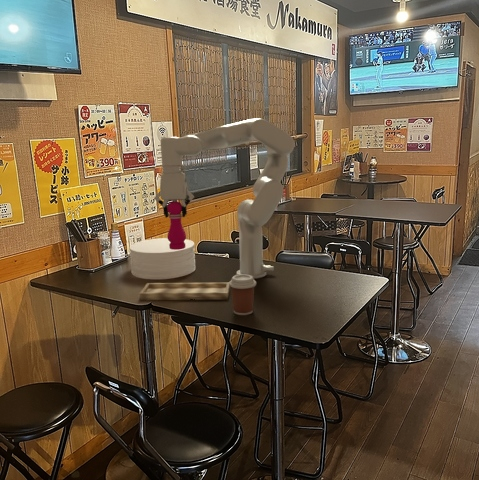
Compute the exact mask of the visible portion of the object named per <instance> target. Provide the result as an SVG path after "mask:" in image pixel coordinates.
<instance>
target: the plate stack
mask: <svg viewBox="0 0 479 480" xmlns="http://www.w3.org/2000/svg"><path fill="white" fill-rule="evenodd" d="M184 243H185V248H184V249H179V250H173V249H170V247H169V244H170V241H169V240H168V237H161V238H159V237H158V238H150V239H144V240H140V241H137V242H134V243H132V244H131V245H130V246H129V251H130V252H129V257H130V268H131V270H130V271H131V273H130V274H131V275H133V276H134V277H136V278H139V279H144V280H168V279H175V278H181V277H183V276H188V275H189V274H192V273H193V272H195V270H196V259H195V258H196V255H195V253H196V252H195V251H196V250H195V242H194V241H193V240H191V239H187V238H186V239H185V241H184Z"/></svg>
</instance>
